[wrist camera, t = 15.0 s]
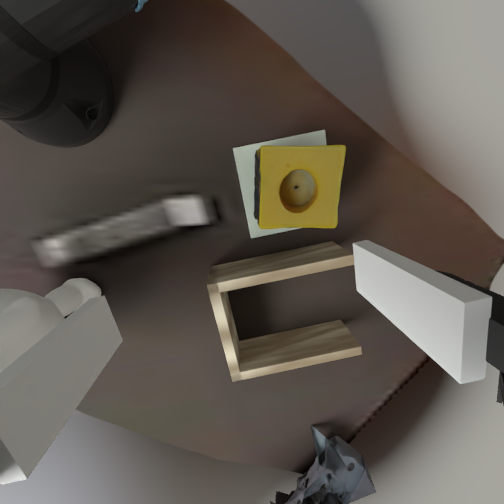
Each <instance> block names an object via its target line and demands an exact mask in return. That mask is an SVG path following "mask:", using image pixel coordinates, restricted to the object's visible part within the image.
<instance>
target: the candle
mask: <svg viewBox="0 0 504 504" xmlns="http://www.w3.org/2000/svg"><path fill="white" fill-rule="evenodd" d="M345 153H346V146H345V145H320V146H273V145H265V146H260V148H259V149H258V150H256V153H255V156H254V157H255V172H254V173H255V177H254V186H255V189H254V213H253V214H254V218H255V219H256V220H258V222H257V224H258V226H259V228H260V229H278V228H311V227H313V228H336V226H337V224H338V203H339V195H340V188H341V179H342V172H343V166H344V159H345Z"/></svg>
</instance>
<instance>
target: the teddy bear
mask: <svg viewBox="0 0 504 504" xmlns="http://www.w3.org/2000/svg"><path fill="white" fill-rule="evenodd" d="M100 296H101V289H100V287H99V286H97V285H96V284H95V283H93V282H92V281H90V280H88V279H85V278H73V279H69V280H67V281H66V282H65V283H64V284H63V285H62V286H60V287H58V288H56V289H54V290H52V291H51V292H50V293H48V294H47V295H46V296H45V297H44V298H43V297H41V296H39V295H36V294H34V293H31V292H27V291H23V290H16V289H0V373H1V372H2V371H3V370H4V369H5V368H7V367H8V366H9V365H10V364H12V363H13V362H14V361H15V360H16V359H18V358H19V357H20V356H21V355H22V354H24V353H25V352H26V351H27V350H28V349H30V348H31V347H32V346H33V345H34V344H36V343H37V342H38V341H39V340H40V339H42V338H43V337H44V336H45V335H47V334H48V333H49V332H50V331H51V330H53V329H54V328H55V327H56V326H57V325H59V324H60V323H61V322H62V321H63V320H65V318H64V317H65V316H67V315H69V314H70V313H72V312H73V311H75V310H77V309H78V308H79V307H80V306H82V305H83V304H84V303H85V302H86V301H88V300H89V299H90V298H95V297H100Z"/></svg>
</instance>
